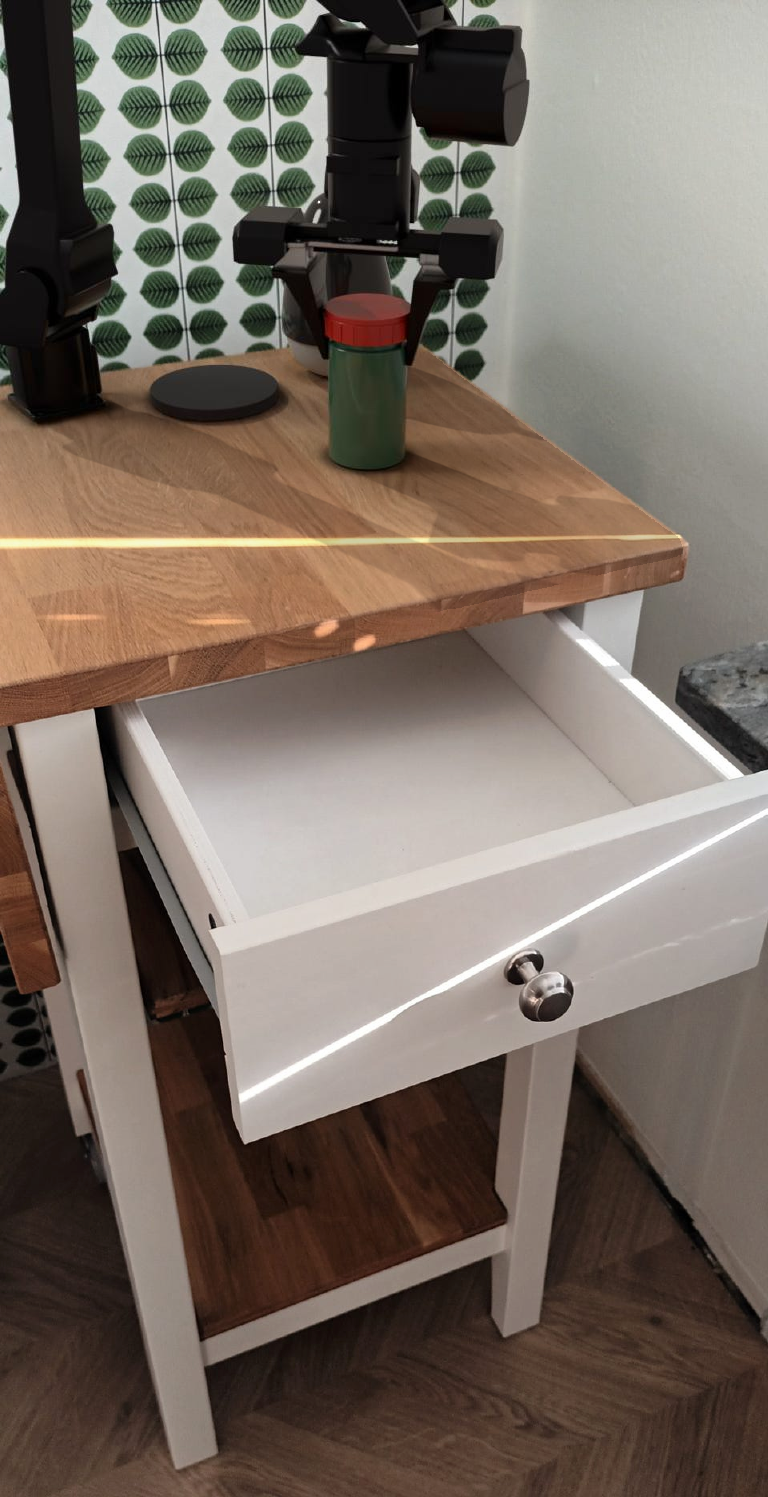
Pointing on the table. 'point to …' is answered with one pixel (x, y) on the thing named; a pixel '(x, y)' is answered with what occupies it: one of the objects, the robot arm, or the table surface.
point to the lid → (367, 319)
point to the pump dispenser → (331, 290)
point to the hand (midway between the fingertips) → (368, 361)
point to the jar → (367, 404)
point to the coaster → (214, 392)
